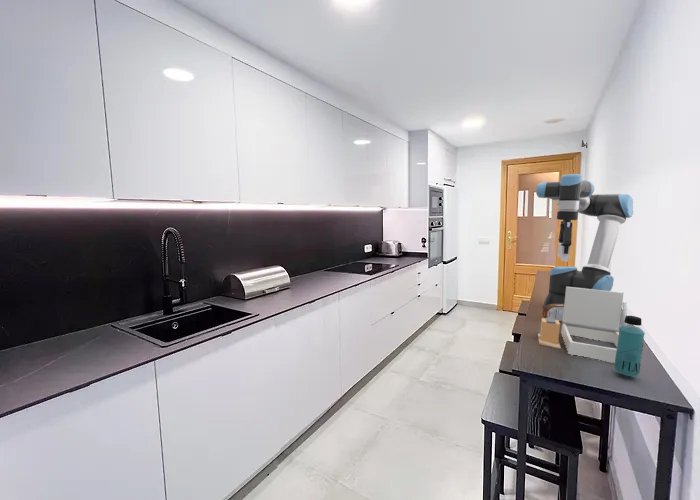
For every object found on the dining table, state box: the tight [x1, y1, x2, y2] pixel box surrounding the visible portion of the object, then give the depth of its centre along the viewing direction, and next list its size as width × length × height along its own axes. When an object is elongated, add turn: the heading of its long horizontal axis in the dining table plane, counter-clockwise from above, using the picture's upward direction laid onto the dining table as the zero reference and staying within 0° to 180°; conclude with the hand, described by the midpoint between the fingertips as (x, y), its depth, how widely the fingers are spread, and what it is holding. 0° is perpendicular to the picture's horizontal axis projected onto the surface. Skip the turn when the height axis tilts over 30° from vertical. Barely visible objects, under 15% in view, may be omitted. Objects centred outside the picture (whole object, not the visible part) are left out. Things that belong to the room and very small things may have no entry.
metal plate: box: [537, 332, 562, 350], centre depth 134 cm, size 14×7×1 cm, turn 153°
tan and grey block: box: [539, 317, 561, 343], centre depth 133 cm, size 5×6×8 cm
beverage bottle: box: [614, 315, 645, 377], centre depth 105 cm, size 6×7×20 cm
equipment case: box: [560, 287, 629, 364], centre depth 126 cm, size 23×21×21 cm
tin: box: [541, 304, 564, 321], centre depth 157 cm, size 15×3×8 cm, turn 97°
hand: (562, 259), depth 145 cm, fingers open, 13 cm apart
